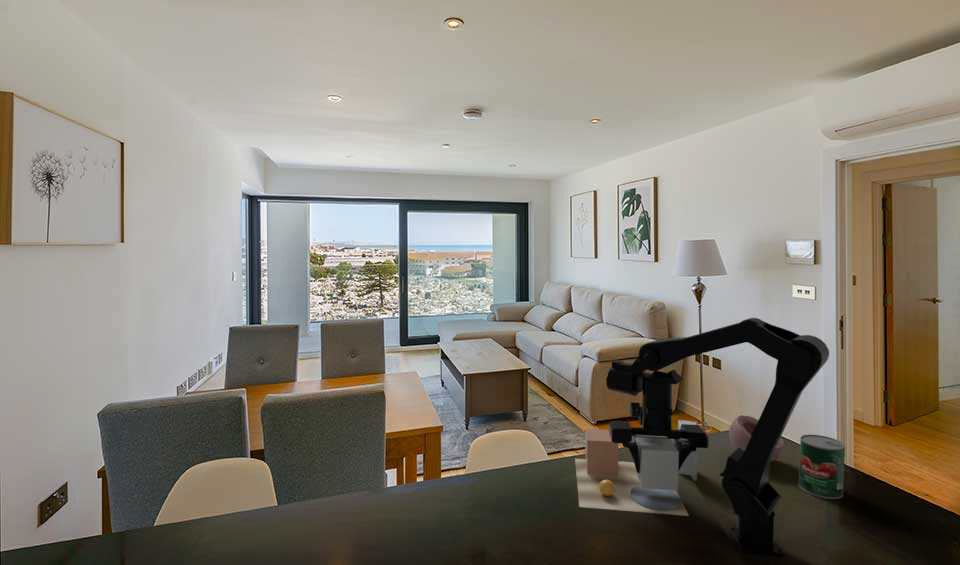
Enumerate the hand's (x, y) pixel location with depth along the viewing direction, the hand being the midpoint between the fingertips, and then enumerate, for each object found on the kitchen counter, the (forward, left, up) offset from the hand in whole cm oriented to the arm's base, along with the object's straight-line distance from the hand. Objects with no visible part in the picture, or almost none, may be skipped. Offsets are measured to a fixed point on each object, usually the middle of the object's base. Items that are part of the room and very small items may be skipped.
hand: (656, 473), depth 95 cm
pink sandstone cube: (+12, +10, -5) cm, 17 cm away
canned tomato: (+11, -37, -7) cm, 39 cm away
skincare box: (+14, -10, -7) cm, 18 cm away
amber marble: (0, +10, -5) cm, 11 cm away
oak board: (+5, +6, -6) cm, 10 cm away
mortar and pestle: (+24, -29, -7) cm, 38 cm away
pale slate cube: (0, 0, -2) cm, 2 cm away
